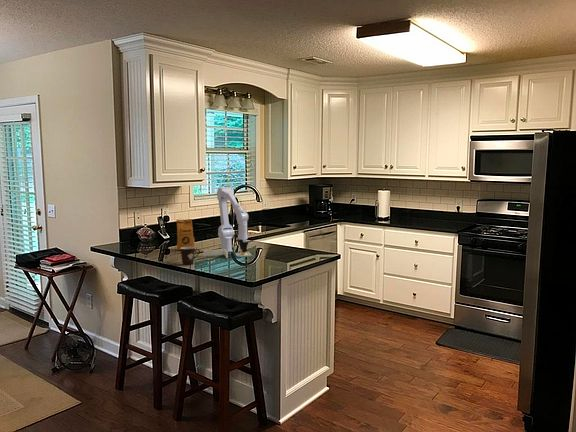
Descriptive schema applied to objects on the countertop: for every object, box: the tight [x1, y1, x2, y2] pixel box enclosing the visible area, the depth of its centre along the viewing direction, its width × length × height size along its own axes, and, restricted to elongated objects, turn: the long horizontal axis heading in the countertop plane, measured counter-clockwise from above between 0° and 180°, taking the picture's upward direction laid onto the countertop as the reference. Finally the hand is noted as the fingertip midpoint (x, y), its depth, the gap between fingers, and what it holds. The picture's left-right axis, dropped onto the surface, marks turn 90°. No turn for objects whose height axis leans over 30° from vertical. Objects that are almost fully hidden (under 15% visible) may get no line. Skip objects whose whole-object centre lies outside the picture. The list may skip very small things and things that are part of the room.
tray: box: [235, 251, 252, 258], centre depth 310 cm, size 9×9×1 cm
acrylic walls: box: [203, 249, 229, 259], centre depth 305 cm, size 13×14×4 cm
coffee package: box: [175, 218, 196, 251], centre depth 331 cm, size 10×12×22 cm
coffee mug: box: [179, 247, 201, 266], centre depth 284 cm, size 12×9×10 cm
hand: (243, 251), depth 310 cm, fingers open, 7 cm apart
